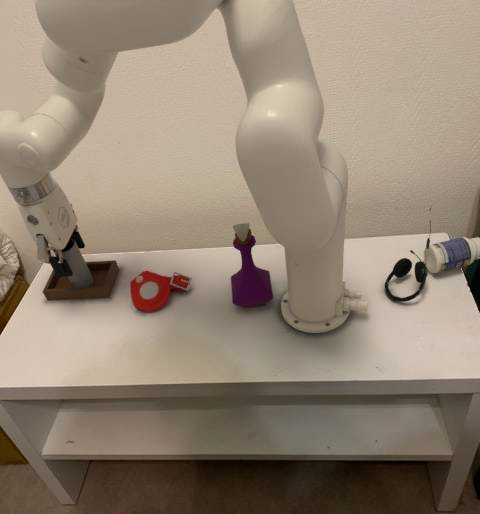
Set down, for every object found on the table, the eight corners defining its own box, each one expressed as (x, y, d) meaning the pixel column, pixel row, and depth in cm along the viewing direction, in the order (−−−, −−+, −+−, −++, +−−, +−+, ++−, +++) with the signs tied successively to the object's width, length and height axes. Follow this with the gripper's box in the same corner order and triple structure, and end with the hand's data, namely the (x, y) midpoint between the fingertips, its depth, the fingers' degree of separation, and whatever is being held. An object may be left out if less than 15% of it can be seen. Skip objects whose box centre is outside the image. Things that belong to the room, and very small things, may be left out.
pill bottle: (439, 272, 86) (491, 260, 87) (433, 243, 86) (484, 231, 87) (426, 275, 92) (474, 263, 92) (420, 247, 92) (468, 236, 92)
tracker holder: (143, 318, 91) (116, 283, 95) (151, 326, 95) (125, 293, 99) (193, 278, 93) (164, 246, 97) (199, 288, 97) (171, 257, 101)
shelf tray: (119, 269, 104) (115, 260, 102) (109, 297, 98) (105, 288, 96) (60, 272, 106) (55, 263, 104) (47, 300, 100) (42, 291, 98)
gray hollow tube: (83, 272, 104) (63, 235, 96) (98, 278, 102) (79, 240, 94) (68, 286, 101) (47, 249, 94) (83, 292, 99) (63, 254, 92)
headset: (455, 191, 83) (403, 291, 80) (465, 214, 88) (416, 309, 86) (418, 187, 87) (368, 282, 85) (430, 210, 93) (383, 299, 90)
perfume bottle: (233, 288, 95) (218, 213, 82) (270, 283, 95) (261, 206, 81) (235, 315, 90) (219, 241, 77) (274, 310, 90) (265, 234, 76)
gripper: (34, 214, 78) (76, 291, 91) (67, 157, 89) (100, 232, 102) (-8, 217, 79) (40, 292, 92) (30, 160, 90) (67, 234, 103)
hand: (71, 260), depth 97 cm, fingers open, 7 cm apart
